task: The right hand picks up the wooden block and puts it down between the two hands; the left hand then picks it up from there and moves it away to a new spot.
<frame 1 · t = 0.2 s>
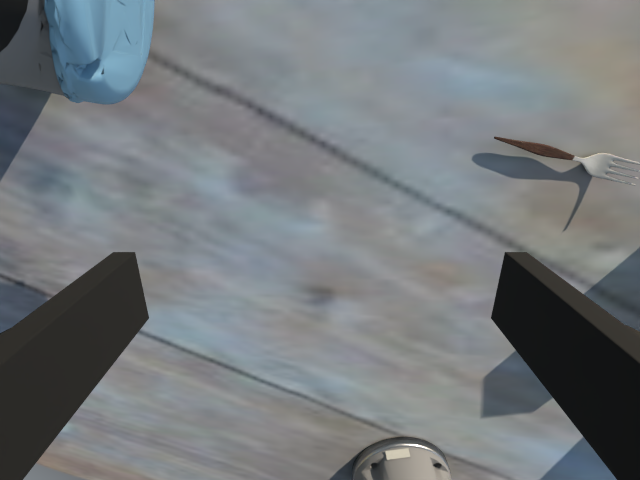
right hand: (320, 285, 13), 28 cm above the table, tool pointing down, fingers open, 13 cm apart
fork: (559, 154, 38), on the table
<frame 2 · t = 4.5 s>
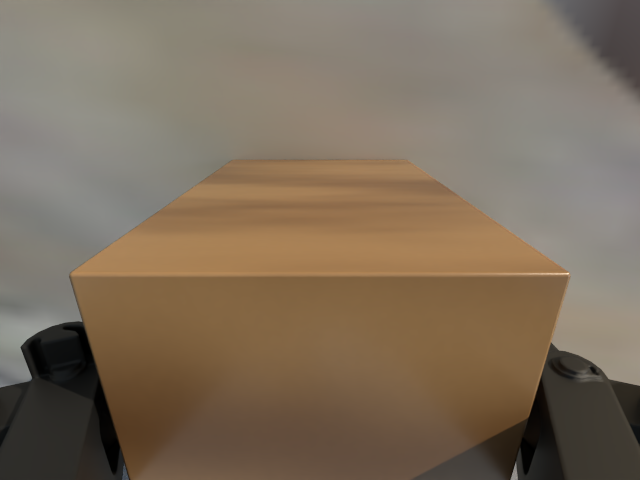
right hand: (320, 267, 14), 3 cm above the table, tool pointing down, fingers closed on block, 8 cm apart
block: (319, 243, 17), on the table, touching right hand
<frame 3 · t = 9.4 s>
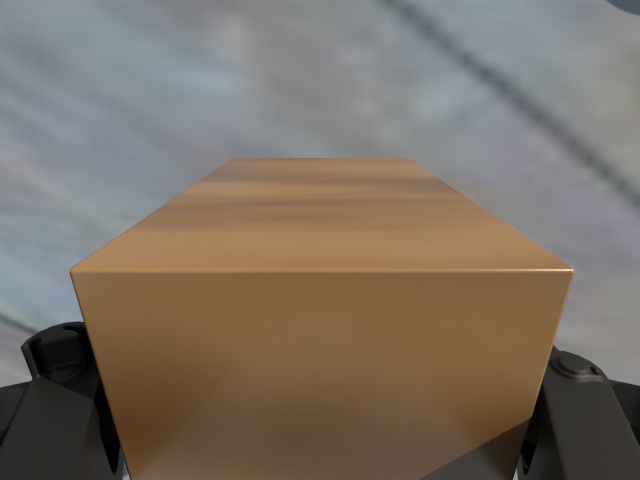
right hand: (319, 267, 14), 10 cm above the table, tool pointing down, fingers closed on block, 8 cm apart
block: (320, 241, 17), point 7 cm above the table, touching right hand
when the right hand's fingers open (4 cm above the table, at t = 14.5 s): block stays where it is, on the table.
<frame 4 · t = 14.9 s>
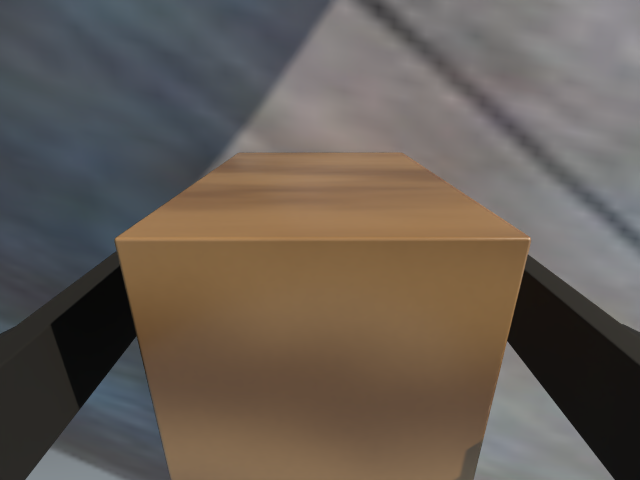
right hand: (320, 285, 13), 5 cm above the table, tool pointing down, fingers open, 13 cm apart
block: (320, 231, 18), on the table
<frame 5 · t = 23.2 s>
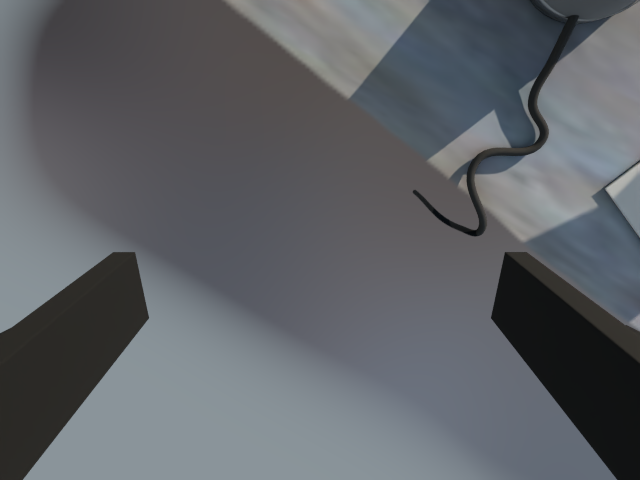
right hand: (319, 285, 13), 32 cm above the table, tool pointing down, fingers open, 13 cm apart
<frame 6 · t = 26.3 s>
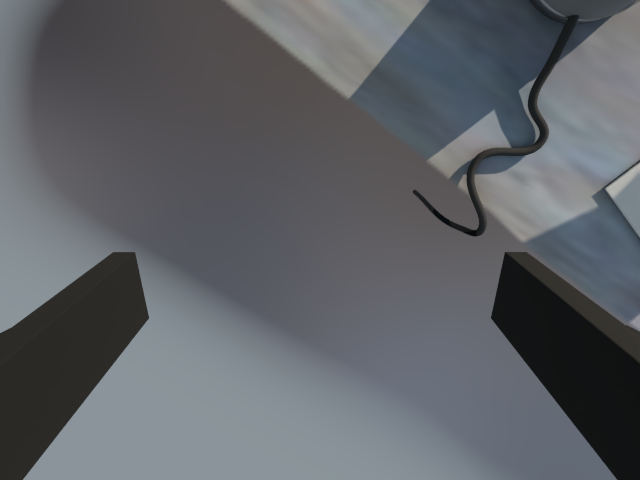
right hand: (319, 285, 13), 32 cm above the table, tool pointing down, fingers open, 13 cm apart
when the left hand's fingers open (4 cm above the table, at t = 29.8 s): block drops 1 cm, on the table.
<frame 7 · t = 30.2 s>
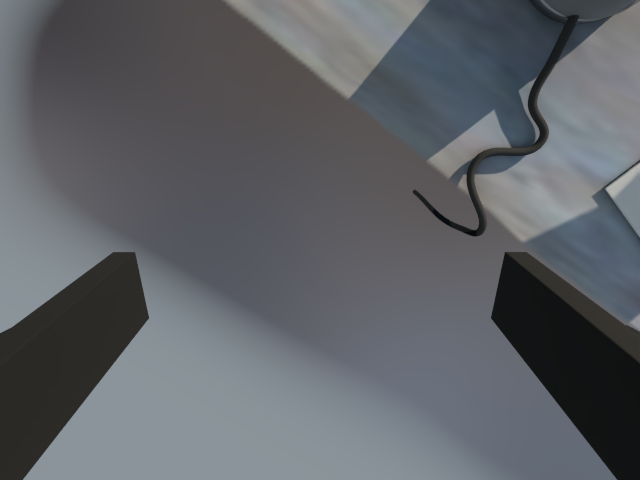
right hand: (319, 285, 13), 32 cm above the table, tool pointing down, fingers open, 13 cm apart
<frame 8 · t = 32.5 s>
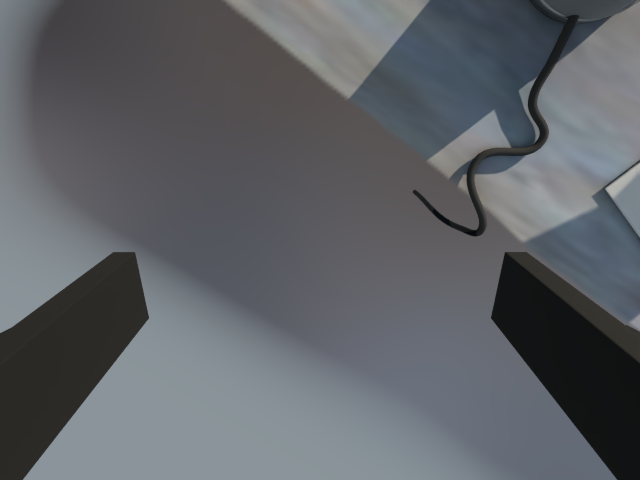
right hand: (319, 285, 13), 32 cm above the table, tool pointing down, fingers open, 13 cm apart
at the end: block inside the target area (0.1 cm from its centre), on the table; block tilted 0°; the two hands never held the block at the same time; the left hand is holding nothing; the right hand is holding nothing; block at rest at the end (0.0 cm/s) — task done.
